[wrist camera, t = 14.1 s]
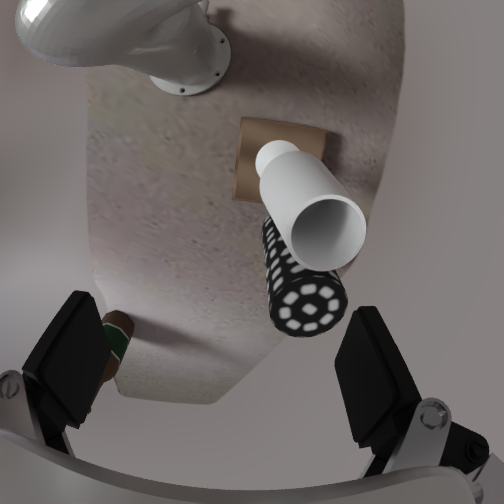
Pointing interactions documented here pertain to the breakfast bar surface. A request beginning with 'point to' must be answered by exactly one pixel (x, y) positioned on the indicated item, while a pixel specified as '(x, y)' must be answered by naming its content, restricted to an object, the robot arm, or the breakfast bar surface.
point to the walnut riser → (258, 135)
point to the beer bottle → (115, 343)
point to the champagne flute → (309, 207)
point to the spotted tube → (299, 290)
